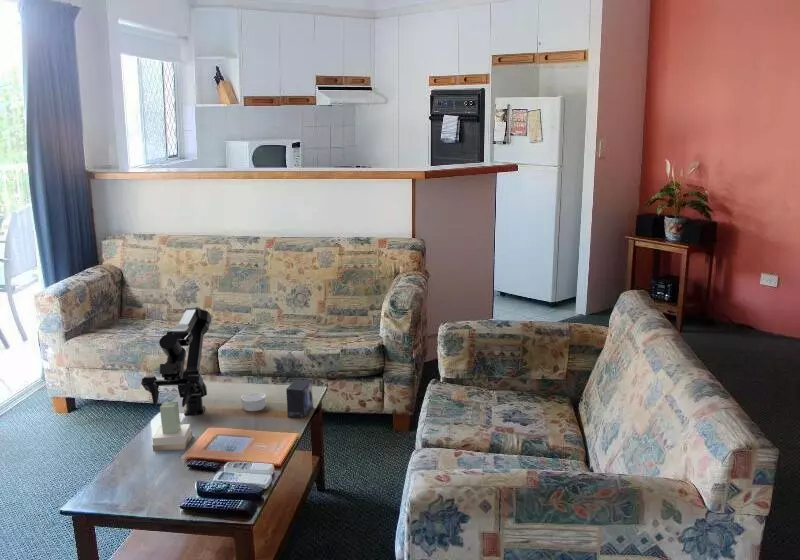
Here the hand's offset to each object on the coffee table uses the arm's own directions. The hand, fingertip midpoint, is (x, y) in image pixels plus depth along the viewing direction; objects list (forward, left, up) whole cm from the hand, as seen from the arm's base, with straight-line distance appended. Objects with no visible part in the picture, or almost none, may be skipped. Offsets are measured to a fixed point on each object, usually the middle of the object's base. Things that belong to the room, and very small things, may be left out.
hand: (168, 406), depth 240 cm
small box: (-19, +41, -13) cm, 47 cm away
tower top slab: (0, 0, -11) cm, 11 cm away
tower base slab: (0, 0, -13) cm, 13 cm away
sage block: (0, 0, -8) cm, 8 cm away
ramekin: (-27, +24, -13) cm, 39 cm away
